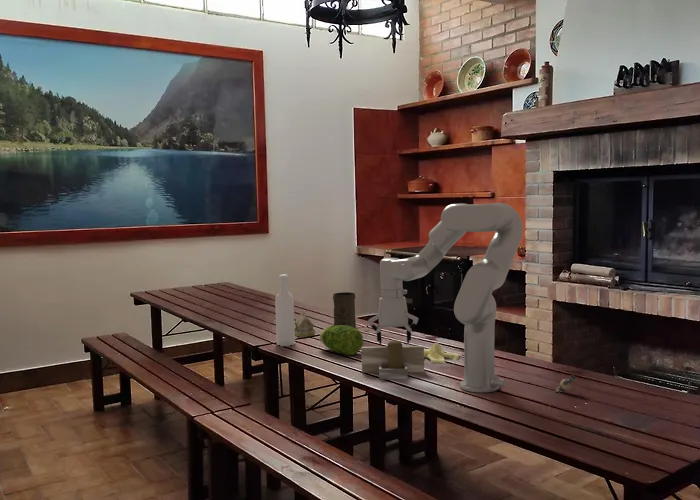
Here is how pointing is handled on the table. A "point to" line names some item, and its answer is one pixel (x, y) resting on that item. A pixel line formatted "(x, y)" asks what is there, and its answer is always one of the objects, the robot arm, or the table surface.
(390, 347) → the olive rounded piece
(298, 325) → the ceramic model
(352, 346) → the lettuce
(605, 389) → the table surface
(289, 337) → the bottle
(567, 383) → the vase
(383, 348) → the wall board holder
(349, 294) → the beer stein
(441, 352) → the cloth
